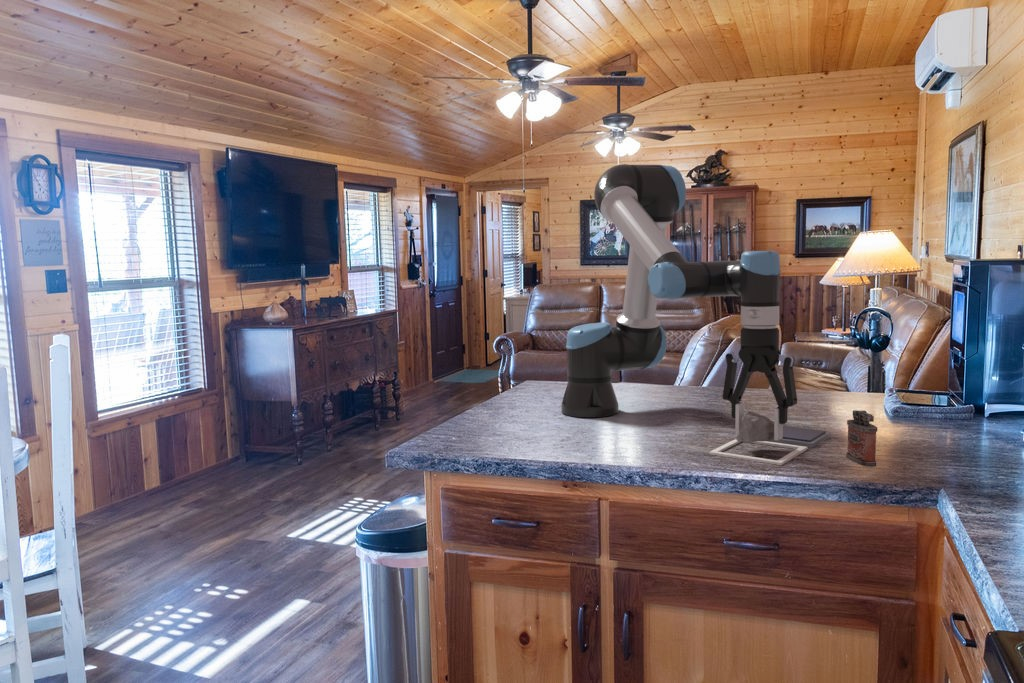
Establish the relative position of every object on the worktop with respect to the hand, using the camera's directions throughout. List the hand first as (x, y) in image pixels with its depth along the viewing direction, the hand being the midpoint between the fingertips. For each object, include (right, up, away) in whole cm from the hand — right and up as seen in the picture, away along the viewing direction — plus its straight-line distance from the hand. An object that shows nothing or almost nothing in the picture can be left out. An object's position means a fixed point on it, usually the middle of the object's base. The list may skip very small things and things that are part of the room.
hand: (758, 436), depth 158 cm
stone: (0, -1, 0) cm, 1 cm away
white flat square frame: (0, -3, 0) cm, 3 cm away
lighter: (+17, -4, -9) cm, 20 cm away
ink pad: (+11, -2, +11) cm, 15 cm away
